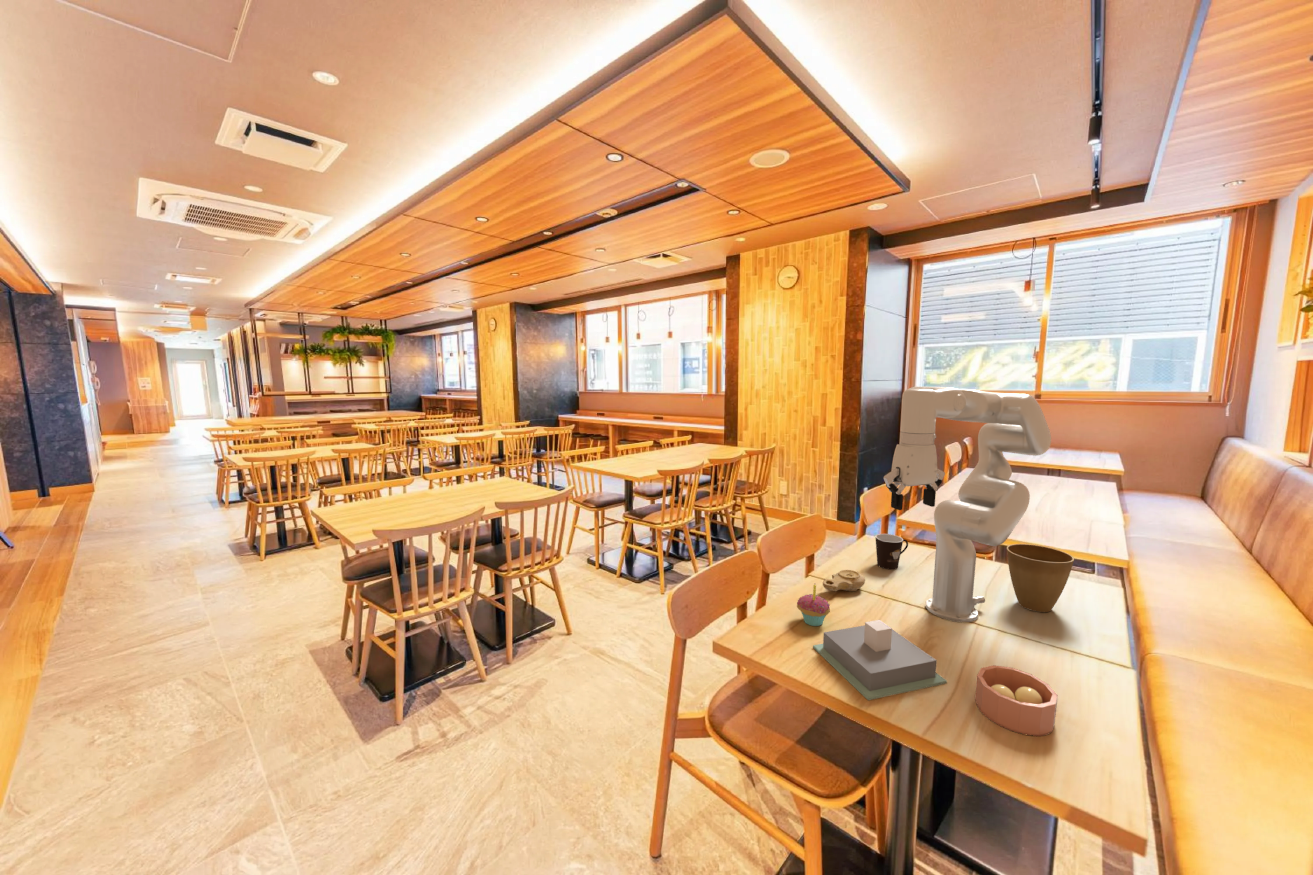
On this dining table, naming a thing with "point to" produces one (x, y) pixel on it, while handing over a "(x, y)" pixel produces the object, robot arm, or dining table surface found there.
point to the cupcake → (813, 608)
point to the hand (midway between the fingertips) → (912, 507)
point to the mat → (880, 692)
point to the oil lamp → (844, 581)
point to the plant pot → (1038, 575)
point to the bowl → (1016, 700)
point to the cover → (879, 655)
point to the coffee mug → (889, 550)
